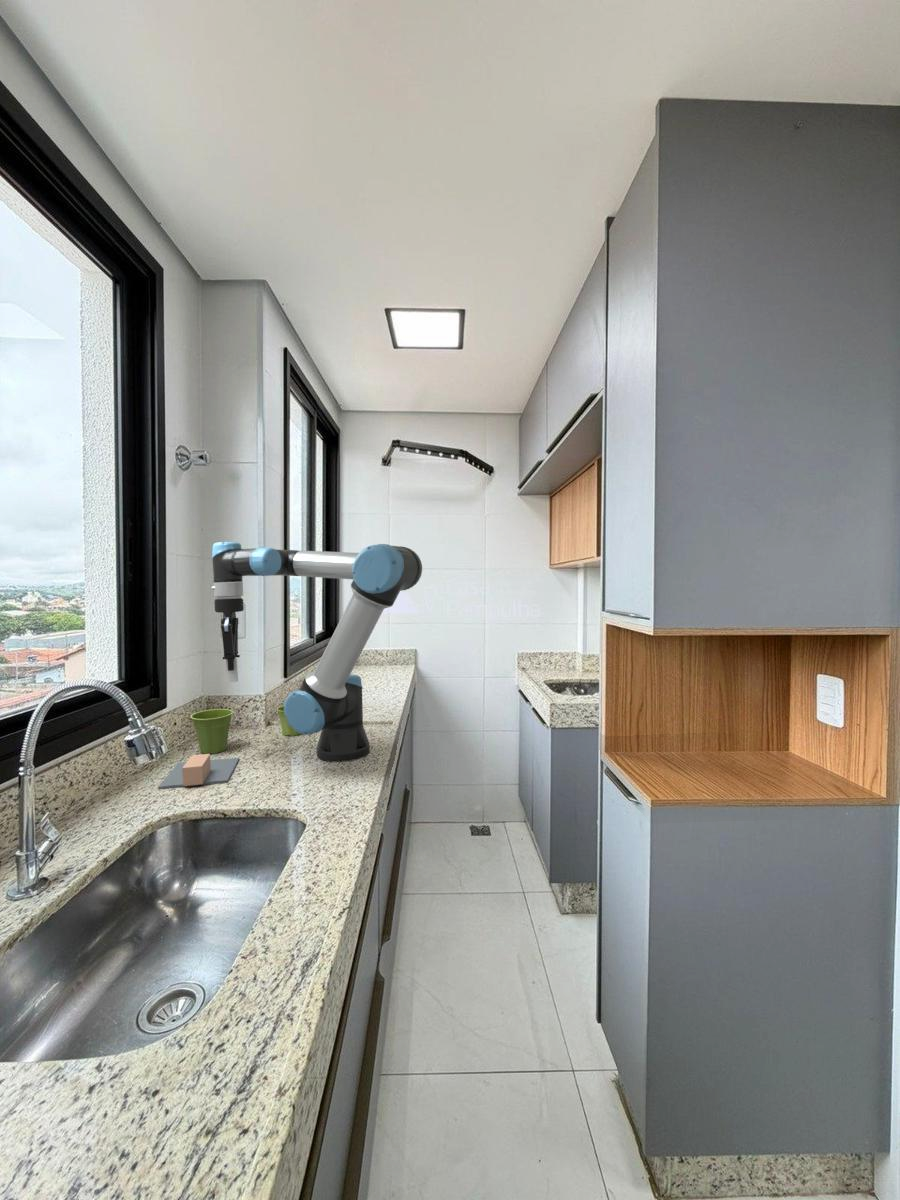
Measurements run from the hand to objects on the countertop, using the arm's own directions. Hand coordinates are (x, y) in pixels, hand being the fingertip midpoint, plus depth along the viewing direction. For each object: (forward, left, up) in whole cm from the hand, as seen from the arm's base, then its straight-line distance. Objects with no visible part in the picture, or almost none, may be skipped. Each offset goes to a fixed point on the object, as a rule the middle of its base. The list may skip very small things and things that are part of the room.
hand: (232, 681), depth 154 cm
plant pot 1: (+8, -11, -23) cm, 26 cm away
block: (+7, +9, -20) cm, 23 cm away
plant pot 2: (-14, -23, -23) cm, 35 cm away
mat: (+7, +9, -22) cm, 25 cm away
